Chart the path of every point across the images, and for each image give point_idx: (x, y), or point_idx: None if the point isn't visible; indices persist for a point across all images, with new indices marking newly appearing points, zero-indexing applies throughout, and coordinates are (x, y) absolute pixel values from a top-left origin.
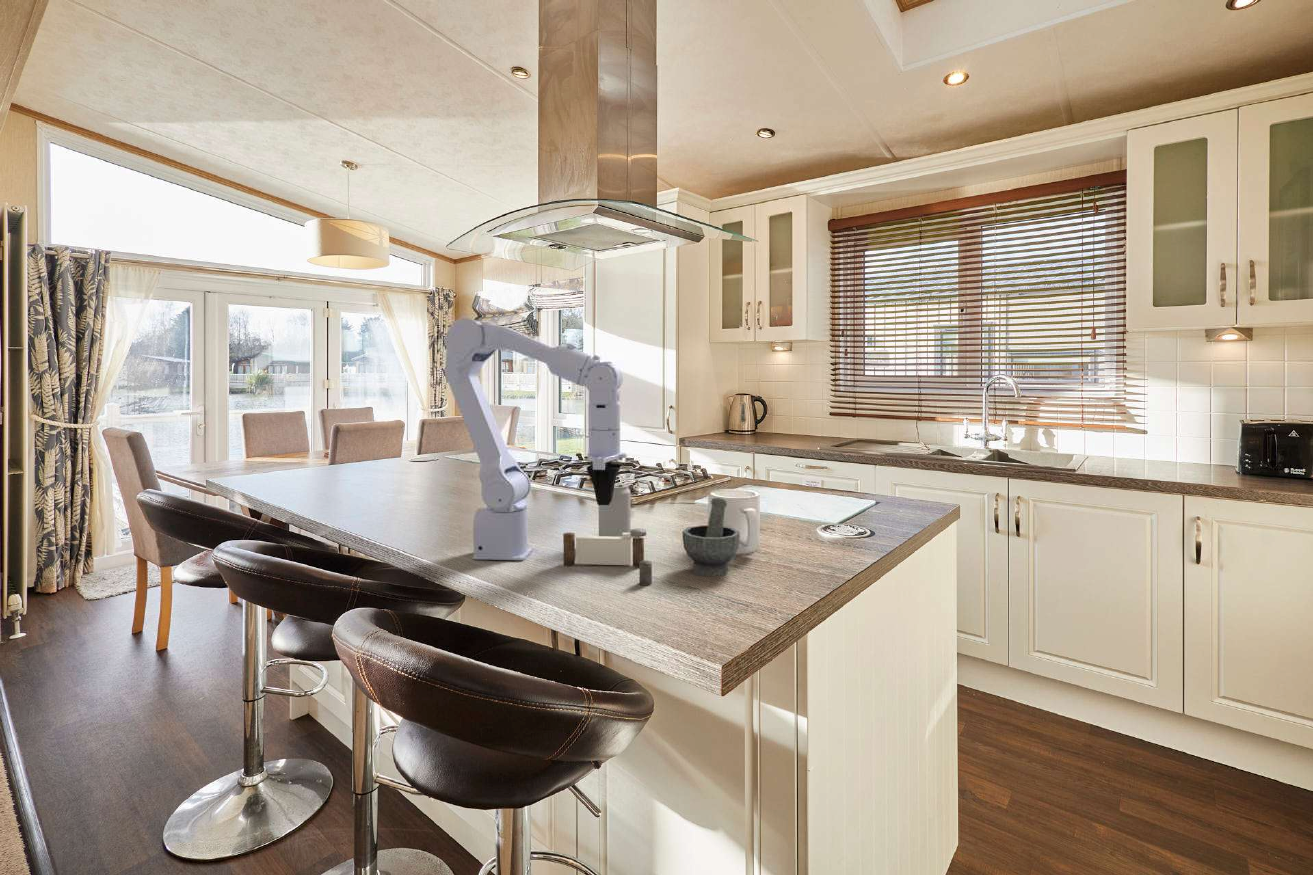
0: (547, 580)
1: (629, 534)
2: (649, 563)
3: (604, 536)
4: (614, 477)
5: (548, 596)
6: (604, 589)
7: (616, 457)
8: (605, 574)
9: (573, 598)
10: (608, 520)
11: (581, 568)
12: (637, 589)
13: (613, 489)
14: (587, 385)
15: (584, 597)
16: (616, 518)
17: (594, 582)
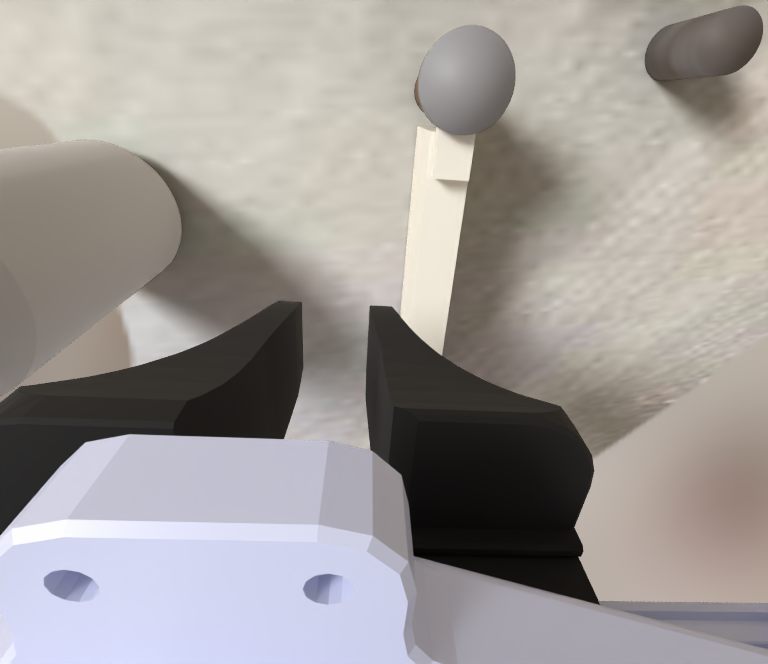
0: (561, 377)
1: (474, 139)
2: (758, 19)
3: (418, 265)
4: (456, 383)
5: (695, 355)
6: (687, 210)
7: (557, 630)
8: (532, 219)
9: (735, 293)
10: (131, 271)
11: (457, 302)
12: (726, 87)
13: (263, 325)
14: None
15: (738, 264)
16: (117, 232)
17: (609, 248)
